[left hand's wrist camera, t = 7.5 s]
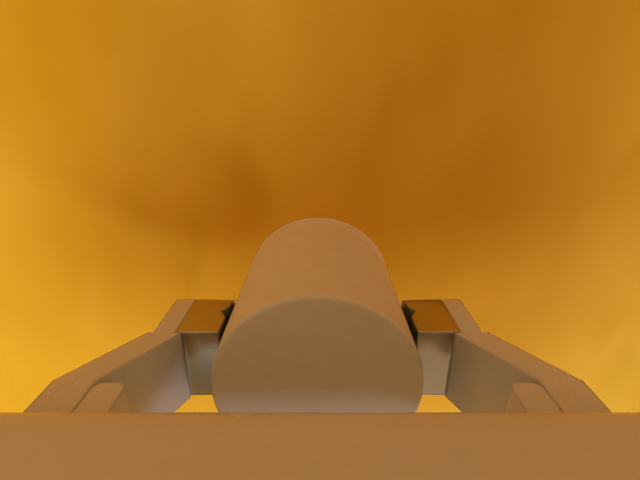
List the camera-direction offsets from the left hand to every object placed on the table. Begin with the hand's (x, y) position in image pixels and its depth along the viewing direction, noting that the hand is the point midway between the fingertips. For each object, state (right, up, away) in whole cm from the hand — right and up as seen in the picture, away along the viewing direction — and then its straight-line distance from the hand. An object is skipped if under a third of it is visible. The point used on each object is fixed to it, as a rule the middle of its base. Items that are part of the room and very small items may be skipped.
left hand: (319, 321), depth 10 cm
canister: (0, +1, +2) cm, 2 cm away
